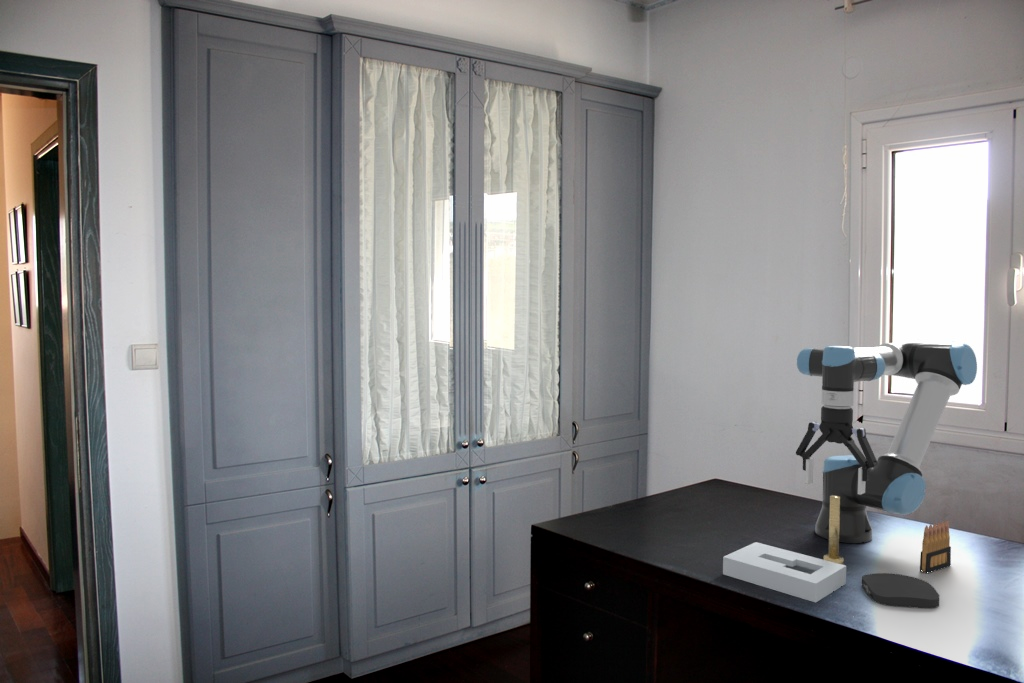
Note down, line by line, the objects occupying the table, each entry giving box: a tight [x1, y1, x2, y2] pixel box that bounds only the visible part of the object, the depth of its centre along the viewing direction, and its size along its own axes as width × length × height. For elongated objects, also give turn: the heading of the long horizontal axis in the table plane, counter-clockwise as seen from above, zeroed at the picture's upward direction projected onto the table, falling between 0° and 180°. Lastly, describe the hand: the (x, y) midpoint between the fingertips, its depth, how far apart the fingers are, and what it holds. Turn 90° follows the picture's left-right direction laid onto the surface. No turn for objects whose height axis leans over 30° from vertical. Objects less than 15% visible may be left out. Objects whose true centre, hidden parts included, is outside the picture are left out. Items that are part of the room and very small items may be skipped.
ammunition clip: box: [919, 519, 952, 574], centre depth 195 cm, size 11×2×12 cm, turn 121°
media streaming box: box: [861, 572, 940, 609], centre depth 179 cm, size 15×15×3 cm
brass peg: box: [822, 495, 845, 565], centre depth 198 cm, size 5×5×18 cm
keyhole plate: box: [722, 541, 847, 603], centre depth 189 cm, size 24×16×4 cm, turn 43°
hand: (834, 488), depth 197 cm, fingers open, 13 cm apart
